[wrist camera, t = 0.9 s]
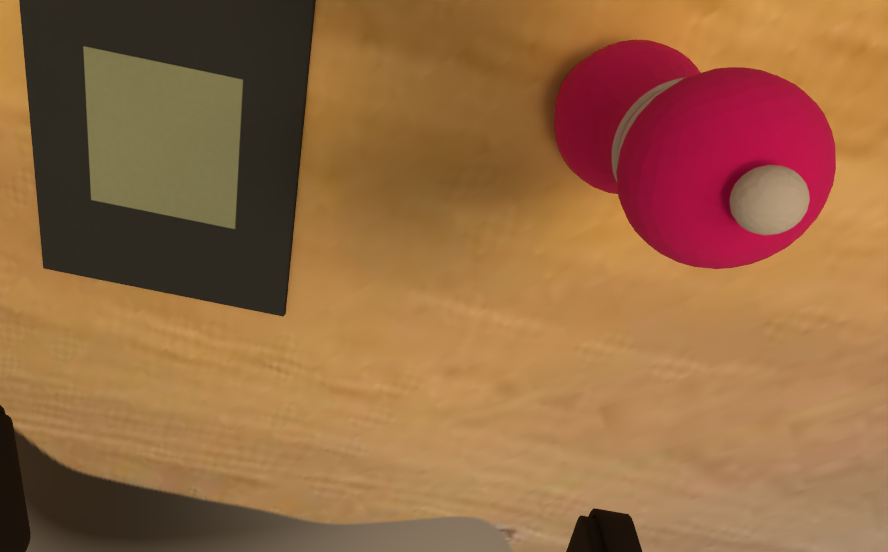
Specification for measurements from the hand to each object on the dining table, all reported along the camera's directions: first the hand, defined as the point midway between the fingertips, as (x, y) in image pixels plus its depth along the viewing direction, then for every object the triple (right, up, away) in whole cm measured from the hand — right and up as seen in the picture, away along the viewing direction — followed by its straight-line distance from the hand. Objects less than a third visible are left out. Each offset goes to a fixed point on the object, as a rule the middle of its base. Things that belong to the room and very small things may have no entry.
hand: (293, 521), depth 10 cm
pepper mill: (+12, +14, +23) cm, 29 cm away
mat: (-14, +12, +25) cm, 31 cm away
